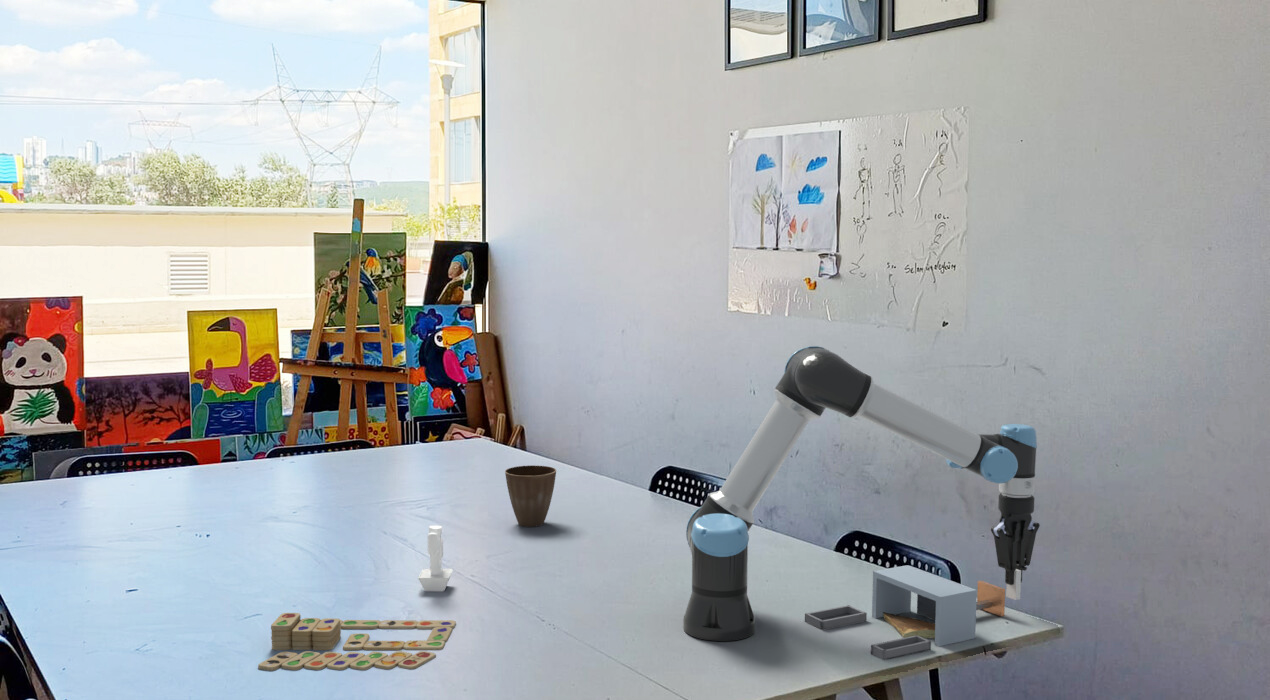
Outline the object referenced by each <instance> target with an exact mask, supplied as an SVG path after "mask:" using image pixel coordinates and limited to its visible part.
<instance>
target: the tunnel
mask: <svg viewBox="0 0 1270 700" xmlns="http://www.w3.org/2000/svg"><path fill="white" fill-rule="evenodd" d="M977 591H978V589H975V588H972V587H970V586H966V585H963V584H961V583H959V582H956V581H953V580H950V579H948V578H944V577H943V576H939V575H936V574H934V573H931V572H928V571H925V570H922V569H920V568H917V567H914V566H911V565H902V566H901V565H899V566H894V567H889V568H884V569H878V570H872V600H871V601H872V604H871V605H872V606H871V608H872V609H871V617H872V618H874V619H879V618H884V614H883V612H885V613H889V614H894V615H899V614H905V613H910V612H911V610H912V609H911V608H912V607H911V606H912V593H915V595H916V594H919V595H921V596H924V597H927V598H929V599H932V600H934V601H936V620H935V621H934V622H935V638H934V645H936V646H938V647H943V646H946V645H950V644H956V643H960V642H964V641H968V640H973V639H976V628H977V625H976V624H977V610H976V602H977Z"/></svg>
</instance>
